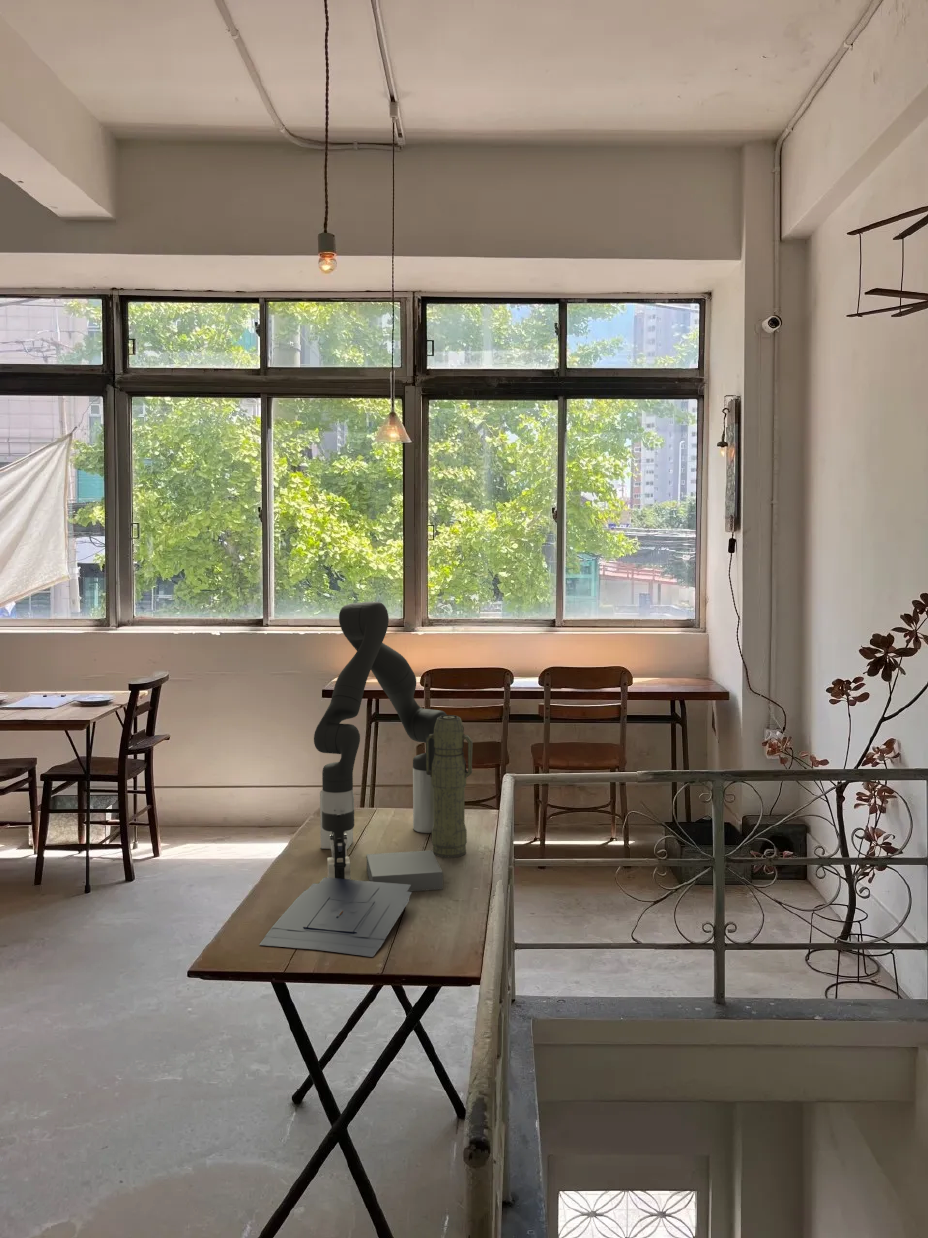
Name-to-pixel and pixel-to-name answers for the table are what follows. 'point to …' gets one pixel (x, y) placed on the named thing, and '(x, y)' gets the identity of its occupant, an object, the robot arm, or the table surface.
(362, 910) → the papers
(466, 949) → the table surface
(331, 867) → the cream cube
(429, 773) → the thermos
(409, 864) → the charcoal plinth
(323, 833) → the milk carton
